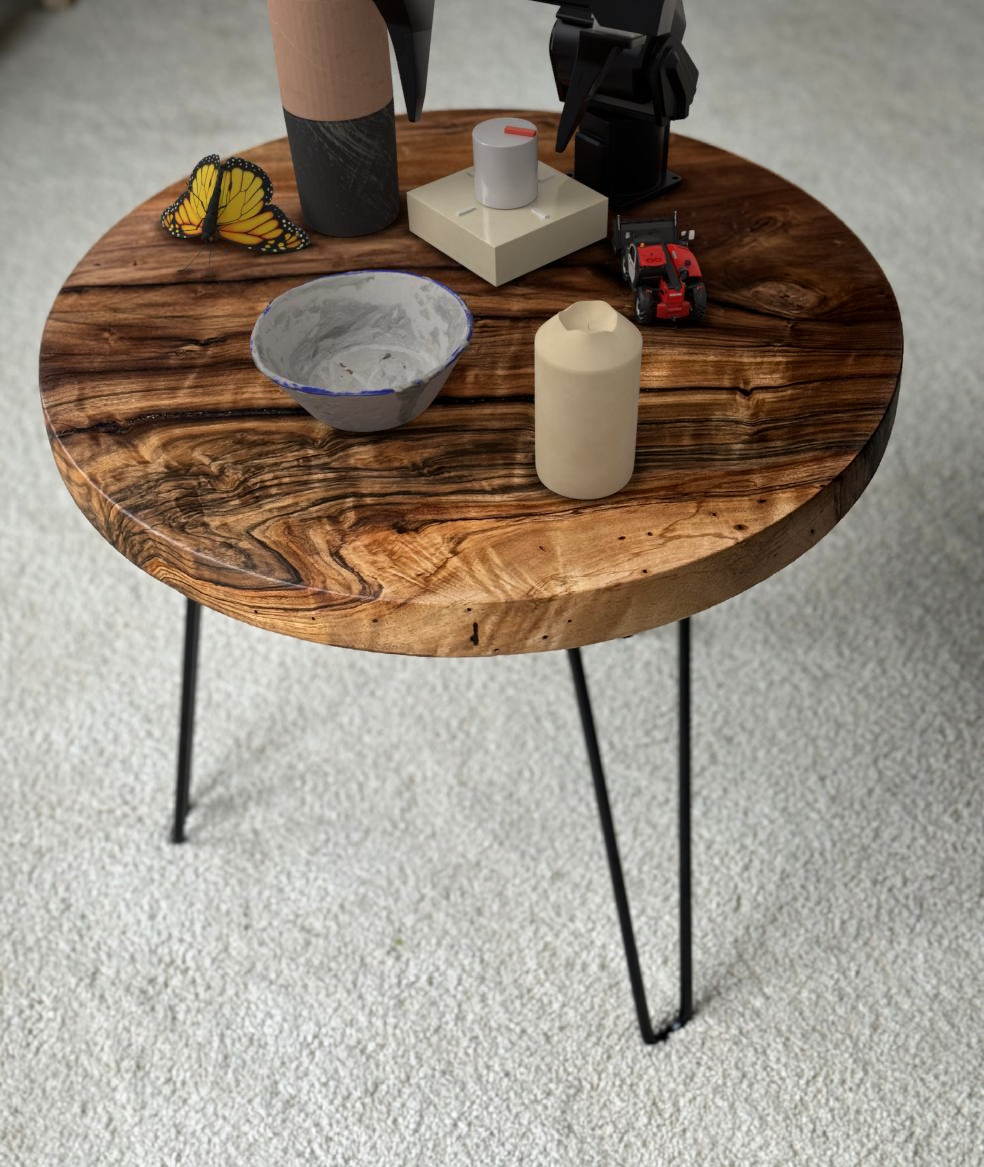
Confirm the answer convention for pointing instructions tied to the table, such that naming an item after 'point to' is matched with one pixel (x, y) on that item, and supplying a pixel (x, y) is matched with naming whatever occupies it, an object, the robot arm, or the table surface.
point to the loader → (659, 268)
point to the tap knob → (505, 162)
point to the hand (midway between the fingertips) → (486, 136)
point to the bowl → (363, 346)
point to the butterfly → (232, 208)
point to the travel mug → (338, 112)
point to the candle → (586, 400)
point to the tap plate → (507, 223)
